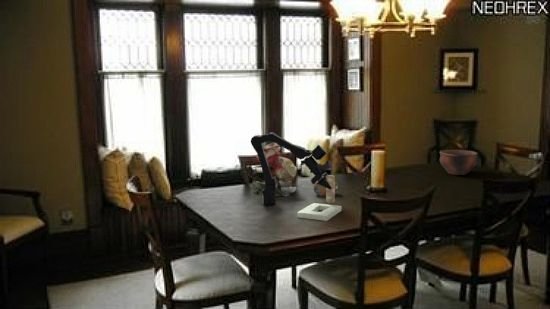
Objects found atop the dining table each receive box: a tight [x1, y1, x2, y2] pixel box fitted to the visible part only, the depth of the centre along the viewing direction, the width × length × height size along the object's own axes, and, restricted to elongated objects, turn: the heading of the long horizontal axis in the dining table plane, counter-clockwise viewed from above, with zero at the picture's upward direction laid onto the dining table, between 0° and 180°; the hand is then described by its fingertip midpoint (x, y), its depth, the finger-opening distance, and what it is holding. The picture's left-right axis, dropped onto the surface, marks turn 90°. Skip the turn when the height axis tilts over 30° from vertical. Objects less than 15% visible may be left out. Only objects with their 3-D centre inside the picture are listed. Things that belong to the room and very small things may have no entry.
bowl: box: [439, 149, 478, 176], centre depth 361 cm, size 25×25×15 cm
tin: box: [313, 180, 340, 197], centre depth 312 cm, size 15×3×8 cm, turn 101°
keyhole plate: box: [296, 202, 342, 222], centre depth 272 cm, size 20×16×2 cm
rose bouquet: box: [249, 142, 298, 197], centre depth 322 cm, size 26×29×30 cm
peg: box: [325, 174, 336, 204], centre depth 283 cm, size 4×4×14 cm
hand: (332, 187), depth 282 cm, fingers closed on peg, 4 cm apart
